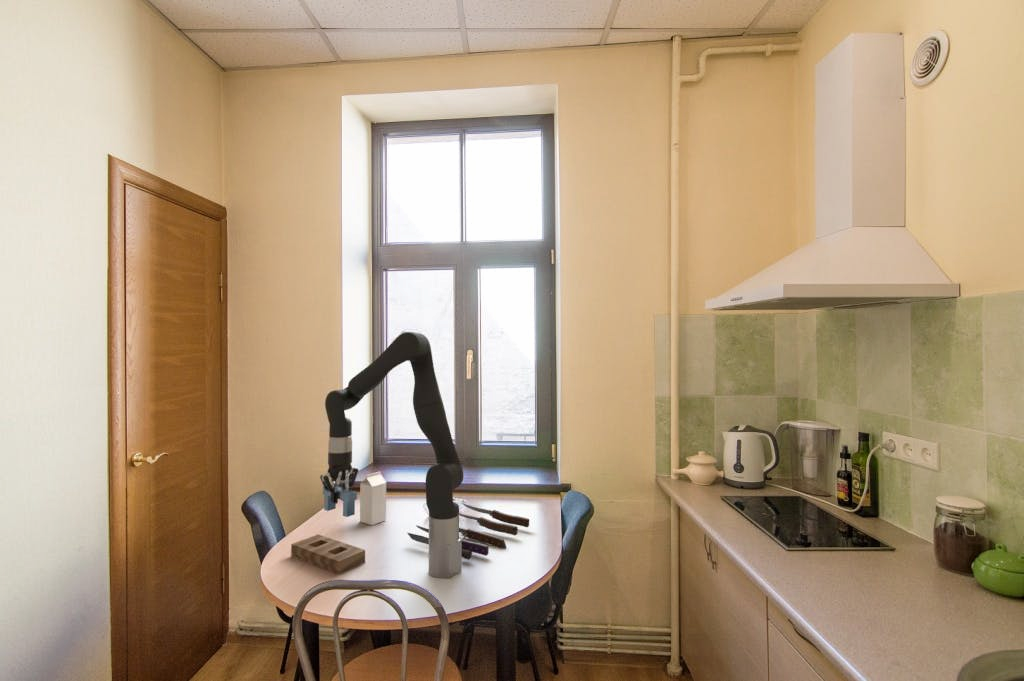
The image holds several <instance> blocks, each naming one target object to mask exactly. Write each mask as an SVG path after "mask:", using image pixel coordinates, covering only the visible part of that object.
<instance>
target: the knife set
mask: <svg viewBox="0 0 1024 681" xmlns="http://www.w3.org/2000/svg"><path fill="white" fill-rule="evenodd" d="M460 504H462V505H463V506H464V507H466V508H467V509H470V510H472V511H475V512H477V513H482V514H486V515H489V517H491V518H492V519H495V520H497V521H494V520H491V519H489V518H485V517H483V516H480V517H478V516H473V515H470V514H464V513H461V512H459V517H463V518H466V519H469V520H474V521H476V523H477V524H478V525H479V526H480V527H483V528H486V529H488V530H490V531H493V532H494V531H495V532H497V533H504V534H508V535H512V536H517V535H518V528H519V527H524V528H529V527H530V518H527V517H523V516H519V515H512V514H508V513H504V512H500V511H499V510H496V509H493V510H492V509H491V510H490V509H486V508H481V507H478V506H473V505H470V504H467V503H464V502H462V501H460ZM498 521H499V522H498ZM502 522H503V523H502ZM415 526H416V527H417V528H418V529H419V530H421V531H423V532H425V533H427V534H429V528H427V527H424V526H420V525H415ZM518 526H519V527H518ZM459 533H460V534H461V535H462V536H463V537H460V536H459V539H461V540H462V558H463V559H465V560H470V559H471V558H472V555H473V553H475V554H479V555H482V556H485V557H486V556H488V555H489V546H488V545H491V546H494V547H496V546H497V548H501V549H503V548H504V549H506V548H507V544H506V542H505V539H504V538H501V537H499V536H496V535H492V534H489V533H485V532H481V531H478V530H475V529H471V528H467V529H466V528H463V527H459ZM407 535H408V536H409V537H410V539H411V540H413V541H415V542H418V543H422V544H425V545H428V546H429V537H427V536H423V535H419V534H415V533H411V532H407ZM466 538H468V539H470V540H473V541H470V540H466ZM475 541H477V542H475ZM480 542H481V543H480ZM483 543H484V544H483ZM486 544H487V545H486Z"/></svg>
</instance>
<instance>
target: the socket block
mask: <svg viewBox="0 0 1024 681" xmlns="http://www.w3.org/2000/svg"><path fill="white" fill-rule="evenodd" d="M290 548H291V549H290V553H291V554H290V556H291V557H292V558H295V559H296V560H300V561H302V562H305V563H308V564H309V565H310V564H311V566H315V567H317V568H320V569H323V570H325V571H328V572H331V573H334V574H336V575H341V574H344V573H345V572H348V571H350V570H352V569H354V568H356V567H359V566H361V565H363V564H365V563H366V549H365V548H361V547H357V546H355V545H351V544H349V543H345V542H342V541H340V540H337V539H333V538H330V537H327V536H324V535H321V534H315V535H312V536H309V537H307V538H304V539H301V540H298V541H297V542H294V543H293V542H292V543H291V545H290Z"/></svg>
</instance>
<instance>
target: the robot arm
mask: <svg viewBox="0 0 1024 681" xmlns="http://www.w3.org/2000/svg"><path fill="white" fill-rule="evenodd" d="M432 353H433V352H432V347H431V343H430V340H429V338H428V337H427V336H426V335H425V334H423V333H420V332H414V331H404V332H402V333H400V334H399V335H398V336H396V338H395V339H393V341H392V342H391V343H390V344H389V345H388V346H387V347H386V349H385V350H384V351H383V352H381V353H380V355H379V356H378V357H377V358H376V359H375V360H373V361H372V362H371V363H370V364H368V365H367V366H366V367H365V368H364V369H362V370H361V371H360V372H358V373H357V374H356V375H354V376H353V377H352V378H351V379H350V380H349V381H348V384H347V387H345V388H343V389H335V390H331V391H330V392H328V394H326V397H325V400H324V407H325V412H326V417H327V421H328V422H329V430H328V432H329V433H328V436H329V437H328V443H327V444H328V445H327V446H328V447H327V448H328V449H327V450H328V451H327V458H328V459H327V464H328V469H327V472H326V473H324V474H321V475H320V476H319V479H320V481H321V483H322V487H324V488H325V490H326V491H329V492H331V502H332V503H333V504H336V505H337V504H338V502H339V499H338V492H337V491H338V487H341V488H344V489H348V490H350V489H349V488H350V487H353V486H354V484H355V481H356V479H357V476H358V473H359V468H356V467H352V463H353V439H352V437H353V436H352V435H353V433H352V426H353V424H352V423H353V421H352V420H351V418H348V417H346V413H345V411H347V410H350V409H353V407H355V406H356V405H357V404H359V403H360V401H361V400H362V399H363V398H364V397H365V396H366V395H369V393H370V392H371V391H373V390H374V389H375V388H377V387H378V386H379V385H380V384H381V383H382V382H383V381H384V380H385V378H386V377H387V375H388V374H389V373H390V372H391V371H392V370H393V369H395V368H396V367H398V366H399V365H401V364H403V363H405V362H407V361H408V362H409V363H410V365H411V366H410V367H411V368H412V372H413V377H414V378H413V379H414V384H413V392H412V393H413V394H412V406H413V407H412V408H413V411H414V414H415V418H416V422H417V425H418V427H419V429H420V430H421V432H422V433H423V434H424V436H425V437H426V439H427V440H428V441H429V443H430V444H431V447H432V449H433V451H434V452H433V453H434V456H435V458H436V463H435V464H433V465H432V466H430V467H429V468H428V470H427V472H426V475H425V502H426V507H427V510H428V529H429V533H428V538H429V545H428V574H429V575H430V576H432V577H434V578H439V579H440V578H442V579H443V578H445V579H446V578H447V579H450V578H452V577H454V576H456V575H457V574H459V573H460V572H462V558H463V557H462V540H461V539H459V537H460V532H459V528H460V515H459V513H460V505H459V504H458V503H457V502H455V501H454V494H453V493H454V492H453V490H456V489H457V488H459V487H460V486H461V485H462V483H463V481H464V470H463V466H462V463H461V460H460V458H459V455H458V453H457V450H456V447H455V444H454V441H453V437H452V434H451V429H450V426H449V422H448V420H447V414H446V409H445V405H444V401H443V398H442V396H441V395H442V394H441V392H440V387H439V383H438V380H437V376H436V373H435V367H434V360H433V354H432ZM340 484H341V485H340ZM341 501H342V502H343V500H341Z"/></svg>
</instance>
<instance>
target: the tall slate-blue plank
mask: <svg viewBox="0 0 1024 681" xmlns="http://www.w3.org/2000/svg"><path fill="white" fill-rule="evenodd" d="M337 492H338V500H341V501H342V500H343V501H342V502H343V503H342V516H343V517H345V518H348V517H351V516H354V515H356V514H355V512H356V507H355V506H356V502H355V501H356V500H357V499H358V492H357V491H354V490H351V489H344V488H342V487H341V486H338V491H337ZM322 496H324V500H323V503H324V504H323V507H324V508H323V509H324V510H325V511H326V512H329V511H333V510H335V509H336V507H337V506H336V505H337V504H333V503H332V502H331V492H329V491H326V490H325V488H324V486H322Z"/></svg>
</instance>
